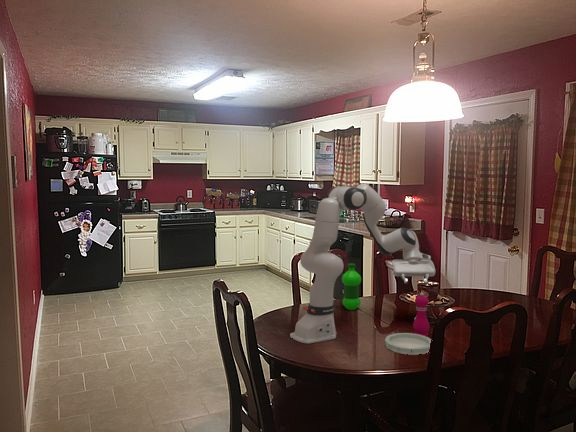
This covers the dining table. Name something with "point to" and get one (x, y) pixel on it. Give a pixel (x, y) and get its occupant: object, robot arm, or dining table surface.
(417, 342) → the round dish
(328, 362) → the dining table surface
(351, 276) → the plastic bottle
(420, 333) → the pepper mill
